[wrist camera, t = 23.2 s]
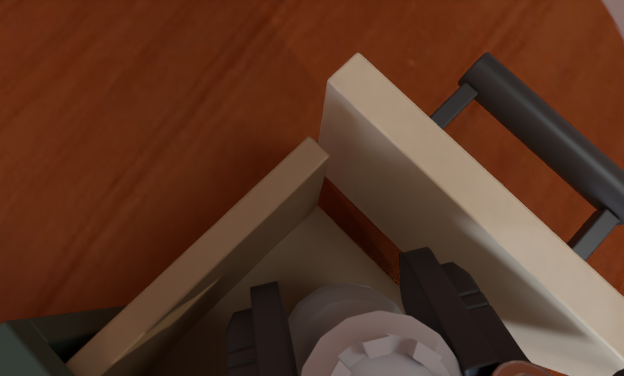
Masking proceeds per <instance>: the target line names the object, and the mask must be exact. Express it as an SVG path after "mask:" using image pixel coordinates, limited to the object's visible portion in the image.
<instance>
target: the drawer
mask: <svg viewBox="0 0 624 376" xmlns="http://www.w3.org/2000/svg"><path fill="white" fill-rule="evenodd" d="M458 85H459V86H460V87H459V88H458V89H457V90H456V91H455V92H454V93H453V94H452V95H451V96H450V97H449V98H448V99H447V100H446V101H445V102H444V103H443V104H442V105H441V106H440V107H439V108H438V109H437V110H436V111H435V112H434V113H433V114H432V115H431V116H430V117H428V116H427V115H426V114H425V113H424V112H423V111H422V110H421V109H420V108H419V107H417V106H416V105H415V104H414V103H413V102H412V101H411V100H410V99H409V98H408V97H407V96H406V95H404V94H403V93H402V92H401V91H400V90H399V89H398V88H397V87H396V86H395V85H394V84H393V83H391V82H390V81H389V80H388V79H387V78H386V77H385V76H384V75H383V74H382V73H381V72H380V71H379V70H377V69H376V68H375V67H374V66H373V65H372V64H371V63H370V62H369V61H368V60H367V59H366V58H364V57H363V56H362V55H361V54H360V53H356V54H355V55H354V56H353V57H352V58H350V59H349V60H348V61H347V62H346V63H345V64H344V65H343V66H342V67H341V68H340V69H338V70H337V71H336V72H335V73H334V74H333V75H332V76H331V77H330V78H329V79H328V81H327V87H326V93H325V100H324V107H323V113H322V120H321V127H320V134H319V140H318V143H317V142H316V141H315V140H314V139H313V138H312V137H307V138H306V139H305V140H303V141H302V142H301V143H300V144H299V145H298V146H297V147H296V148H295V149H294V150H293V151H292V152H291V153H290V154H289V155H287V156H286V157H285V158H284V159H283V160H282V161H281V162H280V163H279V164H278V165H277V166H276V167H275V168H274V169H272V170H271V171H270V172H269V173H268V174H267V175H266V176H265V177H264V178H263V179H262V180H261V181H260V182H259V183H258V184H256V185H255V186H254V187H253V188H252V189H251V190H250V191H249V192H248V193H247V194H246V195H245V196H244V197H243V198H242V199H240V200H239V201H238V202H237V203H236V204H235V205H234V206H233V207H232V208H231V209H230V210H229V211H228V212H227V213H225V214H224V215H223V216H222V217H221V218H220V219H219V220H218V221H217V222H216V223H215V224H214V225H213V226H212V227H211V228H209V229H208V230H207V231H206V232H205V233H204V234H203V235H202V236H201V237H200V238H199V239H198V240H197V241H196V242H195V243H193V244H192V245H191V246H190V247H189V248H188V249H187V250H186V251H185V252H184V253H183V254H182V255H181V256H180V257H179V258H177V259H176V260H175V261H174V262H173V263H172V264H171V265H170V266H169V267H168V268H167V269H166V270H165V271H164V272H162V273H161V274H160V275H159V276H158V277H157V278H156V279H155V280H154V281H153V282H152V283H151V284H150V285H149V286H148V287H146V288H145V289H144V290H143V291H142V292H141V293H140V294H139V295H138V296H137V297H136V298H135V299H134V300H133V301H132V302H130V303H129V304H128V305H127V306H126V307H125V308H124V309H123V310H122V311H121V312H120V313H119V314H118V315H117V316H115V317H114V318H113V319H112V320H111V321H110V322H109V323H108V324H107V325H106V326H105V327H104V328H103V329H102V330H101V331H99V332H98V333H97V334H96V335H95V336H94V337H93V338H92V339H91V340H90V341H89V342H88V343H87V344H86V345H85V346H83V347H82V348H81V349H80V350H79V351H78V352H77V353H76V354H75V355H74V356H73V357H72V358H71V359H70V360H68V361H67V362H66V363H65V365H66V366H67V367H68V368H69V370H70V371H71V372H72V373H73V374H74V375H75V376H227V360H226V353H227V351H226V329H227V327H228V324H229V322H230V319H231V317H232V315H233V312H237V311H242V310H246V309H250V308H251V297H250V287H253V286H257V285H261V284H266V283H270V282H274V281H278V284H279V288H280V292H281V296H282V300H283V304H284V308H285V312H286V316H287V320H288V318H289V316H290V315H291V313H292V312H293V310H294V308H295V307H296V305H297V303H298V302H300V301H301V300H303V299H304V298H305V297H307V296H308V295H309V294H311V293H312V292H314V291H315V290H316V289H318V288H320V287H324V286H328V285H333V284H337V283H341V282H347V283H353V284H359V285H364V286H369V287H371V288H372V289H374V290H376V291H377V292H379V293H380V294H382V295H384V296H385V297H387V298H388V299H390V300H391V301H393V302H394V303H396V305H397V306H398V308H399V309H400V310H401V312H402V313H403V314H404V315H406V313H405V310H404V307H403V303H402V299H401V292H400V287H399V286H398V285H397V284H396V283H395V282H394V281H393V280H392V279H391V278H390V277H389V276H388V275H387V274H386V273H385V272H384V271H383V270H382V269H381V268H380V267H379V266H378V265H377V264H376V263H375V262H374V261H373V260H372V259H371V258H370V257H369V256H368V255H367V254H366V253H365V252H364V251H363V250H362V249H361V248H360V247H359V246H358V245H357V244H356V243H355V242H354V241H353V240H352V239H351V238H350V237H349V236H348V235H347V234H346V233H345V232H344V231H343V230H342V229H341V228H340V227H339V226H338V225H337V224H336V223H335V222H334V221H333V220H332V219H331V218H330V217H329V216H328V215H327V214H326V213H325V212H324V211H323V210H322V209H321V208H320V207H319V206H318V205H317V204H318V200H319V196H320V192H321V189H322V185H323V181H324V177H325V176H326V177H327V178H328V179H329V180H330V181H331V182H332V183H333V184H334V185H335V186H336V187H337V188H338V189H339V190H340V191H341V192H342V193H343V194H344V195H345V196H346V197H347V198H348V199H349V200H350V201H351V202H352V203H353V204H354V205H355V206H356V207H357V208H358V209H359V210H360V211H361V212H362V213H363V214H364V215H365V216H366V217H367V218H368V219H369V220H370V221H371V222H372V223H373V224H374V225H375V226H376V227H377V228H378V229H379V230H380V231H381V232H382V233H383V234H384V235H385V236H387V237H388V238H389V239H390V240H391V241H392V242H393V243H394V244H395V245H396V246H397V247H398V248H399V249H400V250H401V251H402V252H406V251H410V250H415V249H419V248H423V247H429V248H430V249H431V251H432V252H433V254H434V255H435V257H436V259H437V260H438V262H439V264H444V263H448V262H454V263H455V264H457V265H458V266H460V267H461V268H462V269H464V270H465V271H467V272H468V273H470V275H471V276H472V278H473V279H474V281H475V282H476V284H477V285H478V287H479V288H480V291H481V292H482V293H483V294H484V296H485V297H486V298H487V300H488V301H489V304H490V306H492V307H493V309H494V310H495V312H496V313H497V315H498V316H499V318H500V319H501V320H502V322H503V323H504V325H505V326H506V328H507V329H508V331H509V332H510V334H511V335H512V337H513V338H514V340H515V341H516V343H517V344H518V345H519V347H520V348H521V350H522V351H523V353H524V354H525V355H526V357H527V358H528V359H529V360H530V361H531V362H532V363H534V364H537V365H540V366H543V367H546V368H549V369H552V370H555V371H557V372H560V373H563V374H566V375H569V376H613V375H614V374H615V373H616V372H617V371H619V370H621V369H624V297H623V296H622V295H621V294H620V293H619V292H618V291H617V290H616V289H614V288H613V287H612V286H611V285H610V284H609V283H608V282H607V281H606V280H605V279H604V278H603V277H601V276H600V275H599V274H598V273H597V272H596V271H595V270H594V269H593V268H592V267H591V266H590V265H588V264H587V263H586V262H585V261H586V260H587V259H588V258H589V257H590V256H591V254H592V253H593V252H594V251H595V250H596V249H597V247H598V246H599V245H600V244H601V243H602V242H603V240H604V239H605V238H606V237H607V236H608V235H609V233H610V232H611V231H612V230H613V229H614V228H615V226H616V225H623V224H624V171H623V170H622V169H621V168H620V167H618V166H617V165H616V164H615V163H614V162H613V161H612V160H611V159H609V158H608V157H607V156H606V155H605V154H604V153H603V152H601V151H600V150H599V149H598V148H597V147H596V146H595V145H593V144H592V143H591V142H590V141H589V140H588V139H587V138H586V137H584V136H583V135H582V134H581V133H580V132H579V131H578V130H576V129H575V128H574V127H573V126H572V125H571V124H570V123H569V122H567V121H566V120H565V119H564V118H563V117H562V116H561V115H559V114H558V113H557V112H556V111H555V110H554V109H553V108H551V107H550V106H549V105H548V104H547V103H546V102H545V101H544V100H542V99H541V98H540V97H539V96H538V95H537V94H536V93H534V92H533V91H532V90H531V89H530V88H529V87H528V86H526V85H525V84H524V83H523V82H522V81H521V80H520V79H519V78H517V77H516V76H515V75H514V74H513V73H512V72H511V71H509V70H508V69H507V68H506V67H505V66H504V65H503V64H501V63H500V62H499V61H498V60H497V59H496V58H495V57H494V56H492V55H491V54H490V53H489V52H486V53H485V54H484V55H482V56H481V57H480V58H479V59H478V60H477V61H476V62H475V63H474V64H473V65H472V66H471V67H470V69H469V70H468V71H467V72H466V73H465V74H464V75H463V76H462V77H461V79H460V80H459V81H458ZM473 99H475V100H476V101H477V102H478V103H479V104H480V105H481V106H483V107H484V108H485V109H486V110H487V111H488V112H489V113H490V114H491V115H492V116H494V117H495V118H496V119H497V120H498V121H499V122H500V123H501V124H502V125H504V126H505V127H506V128H507V129H508V130H509V131H510V132H511V133H512V134H514V135H515V136H516V137H517V138H518V139H519V140H520V141H521V142H522V143H524V144H525V145H526V146H527V147H528V148H529V149H530V150H531V151H532V152H533V153H535V154H536V155H537V156H538V157H539V158H540V159H541V160H542V161H543V162H545V163H546V164H547V165H548V166H549V167H550V168H551V169H552V170H553V171H555V172H556V173H557V174H558V175H559V176H560V177H561V178H562V179H563V180H565V181H566V182H567V183H568V184H569V185H570V186H571V187H572V188H573V189H575V190H576V191H577V192H578V193H579V194H580V195H581V196H582V197H583V198H584V199H586V200H587V201H588V202H589V203H590V204H591V205H592V206H593V207H594V208H596V209H597V211H595V212H594V213H593V214H592V215H591V216H590V218H589V219H588V220H587V221H586V222H585V223H584V224H583V226H582V227H581V228H580V229H579V230H578V231H577V232H576V234H575V235H574V236H573V237H572V238H571V239H570V240H569V242H568V243H567V244H566V243H565V242H564V241H562V240H561V239H560V238H559V237H558V236H557V235H556V234H555V233H554V232H553V231H552V230H551V229H549V228H548V227H547V226H546V225H545V224H544V223H543V222H542V221H541V220H540V219H539V218H538V217H537V216H535V215H534V214H533V213H532V212H531V211H530V210H529V209H528V208H527V207H526V206H525V205H524V204H522V203H521V202H520V201H519V200H518V199H517V198H516V197H515V196H514V195H513V194H512V193H511V192H509V191H508V190H507V189H506V188H505V187H504V186H503V185H502V184H501V183H500V182H499V181H498V180H496V179H495V178H494V177H493V176H492V175H491V174H490V173H489V172H488V171H487V170H486V169H485V168H483V167H482V166H481V165H480V164H479V163H478V162H477V161H476V160H475V159H474V158H473V157H472V156H470V155H469V154H468V153H467V152H466V151H465V150H464V149H463V148H462V147H461V146H460V145H459V144H458V143H456V142H455V141H454V140H453V139H452V138H451V137H450V136H449V135H448V134H447V133H446V132H445V131H443V129H444V128H445V127H446V126H447V125H448V124H449V123H450V122H451V121H452V120H453V119H454V118H455V117H456V116H457V115H458V114H459V113H460V112H461V111H462V110H463V109H464V108H465V107H466V106H467V105H468V104H469V103H470V102H471V101H472V100H473Z"/></svg>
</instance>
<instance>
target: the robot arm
mask: <svg viewBox="0 0 624 376" xmlns="http://www.w3.org/2000/svg"><path fill="white" fill-rule="evenodd" d="M399 266H400V292H401V299H402V303H403V307H404V310H405V313H406V315H407V316H412V317H413V318H415V319H416V320H418V321H419V322H421V323H423V324H424V325H426V326H427V327H429V328H430V329H432V330H433V331H435V332H437V333H438V334H440V336H441V337H442V339H443V340H444V341H445V343H446V344H447V345H448V347H449V348H450V350H451V351H452V352H453V354H454V355H455V357H456V358H457V359H458V361H459V363H460V367H461V371H462V374H463V376H553V375H552V374H551V373H550V372H548V371H547V370H546V369H544V368H542V367H541V366H539V365H536V364H534V363H532V362H531V361H530V360H529V359H528V358H527V357H526V355H525V354H524V353H523V351H522V350H521V348H520V347H519V345H518V344H517V343H516V341H515V340H514V338H513V337H512V335H511V334H510V332H509V331H508V329H507V328H506V326H505V325H504V323H503V322H502V320H501V319H500V318H499V316H498V315H497V313H496V312H495V310H494V309H493V307H492V306H490V304H489V301H488V300H487V298H486V297H485V296H484V294H483V293H482V292H481V291H480V288H479V287H478V285H477V284H476V282H475V281H474V279H473V278H472V276H471V275H470V273H468V272H467V271H465V270H464V269H462V268H461V267H460V266H458V265H457V264H455V263H454V262H448V263H444V264H439V262H438V260H437V259H436V257H435V255H434V254H433V252H432V251H431V249H430V248H429V247H423V248H419V249H415V250H410V251H406V252H402V253H400V255H399ZM250 297H251V308H250V309H246V310H242V311H237V312H233V315H232V317H231V319H230V322H229V324H228V327H227V329H226V351H227V353H226V360H227V376H298V372H297V367H296V361H295V355H294V350H293V344H292V339H291V334H290V329H289V324H288V320H287V316H286V312H285V308H284V304H283V300H282V296H281V292H280V288H279V284H278V281H274V282H270V283H266V284H261V285H257V286H253V287H250ZM613 376H624V369H621V370H619V371H617V372H616V373H615V374H614V375H613Z"/></svg>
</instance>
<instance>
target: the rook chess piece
mask: <svg viewBox="0 0 624 376" xmlns="http://www.w3.org/2000/svg"><path fill="white" fill-rule="evenodd" d="M288 324H289V329H290V334H291V339H292V344H293V350H294V355H295V361H296V367H297V372H298V376H463V374H462V371H461V367H460V363H459V361H458V359H457V358H456V357H455V355H454V354H453V352H452V351H451V350H450V348H449V347H448V345H447V344H446V343H445V341H444V340H443V339H442V337H441V336H440V334H438V333H437V332H435V331H433V330H432V329H430V328H429V327H427V326H426V325H424V324H423V323H421V322H419V321H418V320H416V319H415V318H413V317H412V316H407V315H404V314H403V313H402V312H401V310H400V309H399V308H398V306H397V305H396V303H394V302H393V301H391V300H390V299H388V298H387V297H385V296H384V295H382V294H380V293H379V292H377V291H376V290H374V289H372V288H371V287H369V286H364V285H359V284H353V283H347V282H341V283H337V284H333V285H328V286H324V287H320V288H318V289H316V290H315V291H314V292H312V293H311V294H309V295H308V296H307V297H305V298H304V299H303V300H301V301H300V302H298V303H297V305H296V307H295V308H294V310H293V312H292V313H291V315H290V316H289V318H288Z"/></svg>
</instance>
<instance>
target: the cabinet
mask: <svg viewBox="0 0 624 376" xmlns="http://www.w3.org/2000/svg"><path fill="white" fill-rule="evenodd" d="M126 306H127V305H126ZM126 306H118V307H111V308H103V309H96V310H88V311H81V312H73V313H66V314H58V315H51V316H43V317H36V318H28V319H17V320H9V321H4V322H3V323H2V324H0V376H75V375H74V374H73V373H72V372H71V371H70V370H69V368H68V367H67V366H66V365H65V363H66V362H67V361H68V360H70V359H71V358H72V357H73V356H74V355H75V354H76V353H77V352H78V351H79V350H80V349H81V348H82V347H83V346H85V345H86V344H87V343H88V342H89V341H90V340H91V339H92V338H93V337H94V336H95V335H96V334H97V333H98V332H99V331H101V330H102V329H103V328H104V327H105V326H106V325H107V324H108V323H109V322H110V321H111V320H112V319H113V318H114V317H115V316H117V315H118V314H119V313H120V312H121V311H122V310H123V309H124V308H125V307H126Z"/></svg>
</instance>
